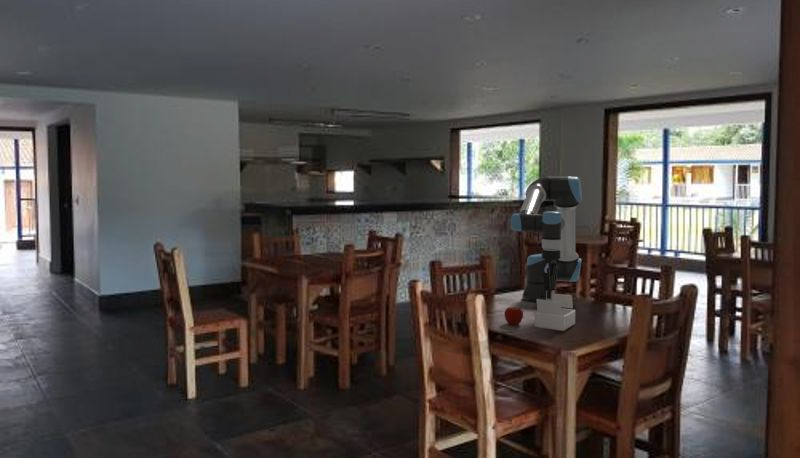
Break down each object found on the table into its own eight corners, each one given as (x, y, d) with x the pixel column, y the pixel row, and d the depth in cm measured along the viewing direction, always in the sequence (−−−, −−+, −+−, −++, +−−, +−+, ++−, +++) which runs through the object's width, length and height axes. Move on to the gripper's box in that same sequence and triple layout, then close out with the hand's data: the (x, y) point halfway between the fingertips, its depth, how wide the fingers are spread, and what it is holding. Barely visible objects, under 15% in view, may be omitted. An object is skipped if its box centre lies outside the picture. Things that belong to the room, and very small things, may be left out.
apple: (521, 322, 272) (521, 304, 272) (524, 326, 264) (524, 308, 264) (503, 322, 272) (503, 304, 272) (505, 326, 265) (506, 308, 264)
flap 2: (549, 305, 276) (550, 305, 276) (572, 308, 271) (572, 308, 271) (548, 293, 274) (549, 293, 274) (571, 296, 268) (571, 295, 269)
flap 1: (561, 314, 258) (561, 315, 258) (537, 311, 263) (537, 312, 263) (560, 301, 256) (560, 301, 256) (536, 298, 261) (536, 299, 261)
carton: (546, 319, 277) (546, 306, 277) (575, 323, 270) (576, 310, 270) (533, 326, 265) (534, 312, 264) (564, 331, 258) (565, 316, 257)
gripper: (547, 247, 265) (546, 302, 267) (536, 250, 254) (535, 307, 257) (565, 248, 261) (563, 304, 263) (554, 251, 250) (553, 310, 253)
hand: (549, 306), depth 260 cm, fingers closed
